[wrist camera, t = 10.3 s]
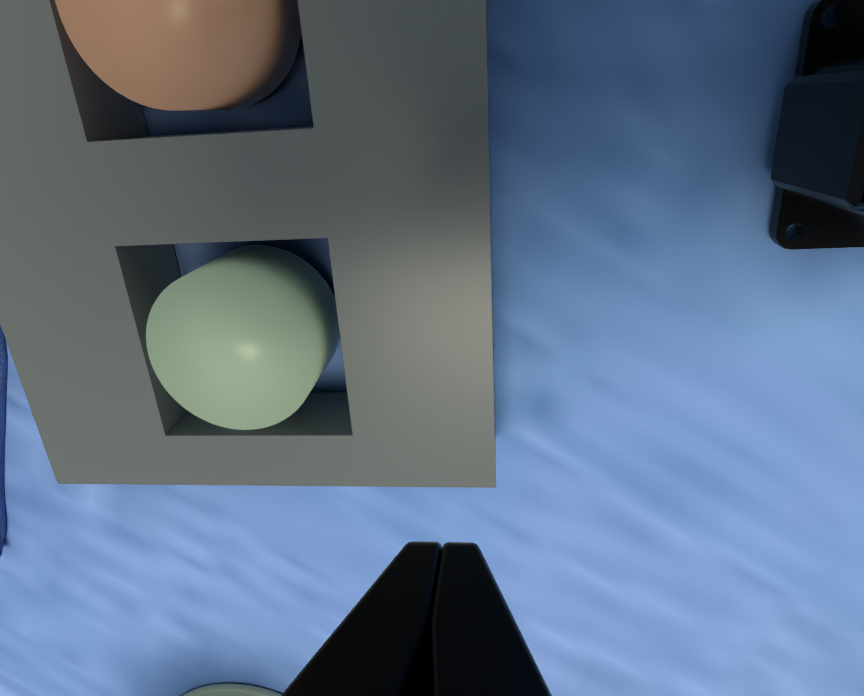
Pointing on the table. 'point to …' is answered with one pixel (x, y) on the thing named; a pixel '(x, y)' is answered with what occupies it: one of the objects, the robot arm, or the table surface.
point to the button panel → (254, 221)
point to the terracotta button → (186, 48)
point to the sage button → (244, 336)
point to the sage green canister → (231, 690)
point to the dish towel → (2, 431)
